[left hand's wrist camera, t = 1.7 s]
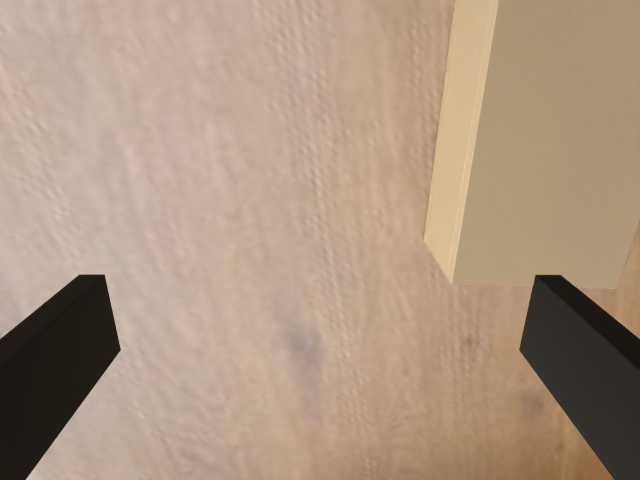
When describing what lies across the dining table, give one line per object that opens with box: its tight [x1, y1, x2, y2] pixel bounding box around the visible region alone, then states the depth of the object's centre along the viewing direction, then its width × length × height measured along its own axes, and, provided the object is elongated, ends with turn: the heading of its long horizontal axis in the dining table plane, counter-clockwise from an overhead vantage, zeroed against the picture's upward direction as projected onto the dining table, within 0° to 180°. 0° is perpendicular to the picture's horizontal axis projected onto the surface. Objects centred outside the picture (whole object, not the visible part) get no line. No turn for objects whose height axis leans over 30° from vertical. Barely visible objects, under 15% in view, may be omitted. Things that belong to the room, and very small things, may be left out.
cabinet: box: [423, 0, 640, 289], centre depth 28 cm, size 19×11×8 cm, turn 178°
